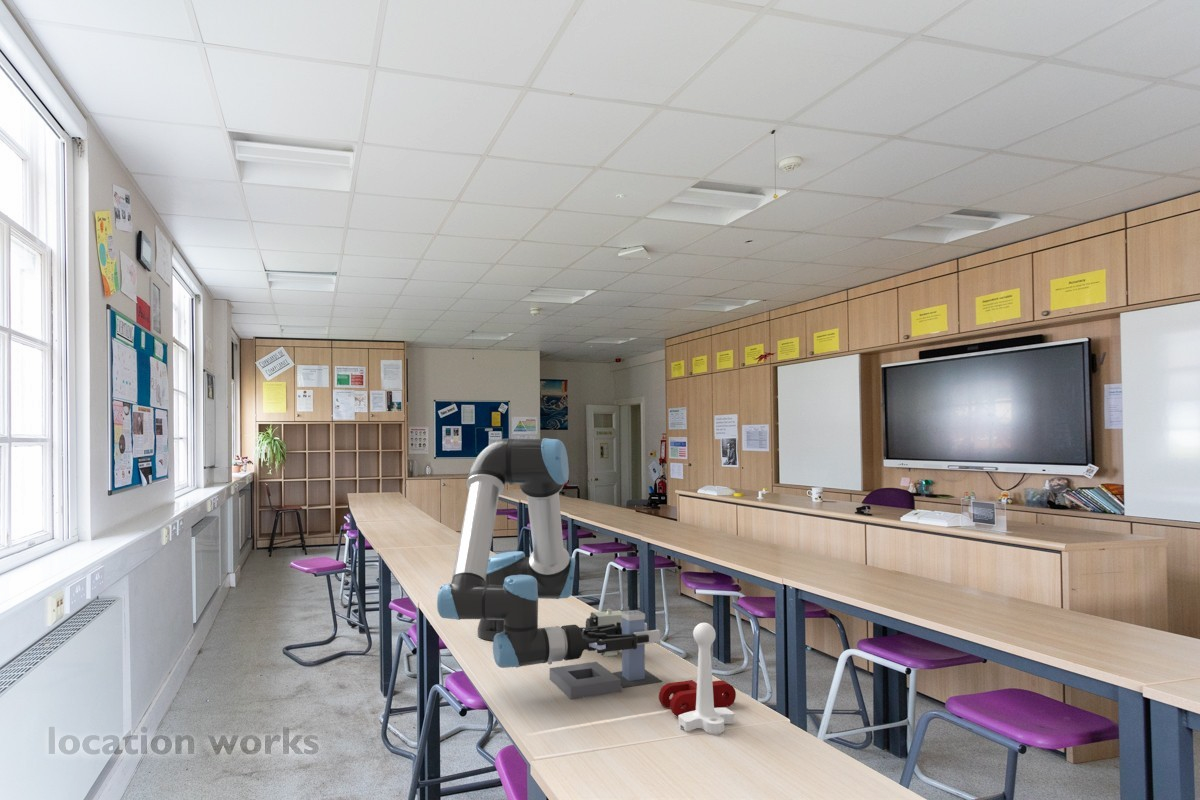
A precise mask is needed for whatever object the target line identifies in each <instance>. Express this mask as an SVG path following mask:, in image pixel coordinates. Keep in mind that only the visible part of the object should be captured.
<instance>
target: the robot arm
mask: <svg viewBox="0 0 1200 800" xmlns="http://www.w3.org/2000/svg"><path fill="white" fill-rule="evenodd" d="M568 458H569V457H568V452H567V449H566V446H565V444H564V442H563V441H561V440H560V439H556V438H547V437H543V438H502V439H498V440H495V441H493V442H492V443H490V444H489V445H487V446H486V447H484V449H482V450H481V451H480V453H479V454H477V456H476V458H475V459H474V460H473V462H472V464H471V466H470V468H469V471H468V473H467V477H466V482H465V483H466V484H465V486H466V489H467V490H468V492H467V493H468V495H467V499H466V504H465V509H464V515H463V520H462V525H461V531H460V534H459V535H460V536H459V541H458V545H457V552H456V557H455V561H454V566H453V567H454V568H453V572H452V579H451V583H447V584H446V583H444V584H442V585H441V586H440V587H439V590H438V593H437V599H436V600H437V601H436V606H437V607H436V608H437V612H438V615H439V616H440V617H441V618H442V619H445V620H447V619H448V620H456V621H457V620H458V621H460V620H479V622H478V626H477V637H478V638H480V639H483V640H485V641H493V642H492V654H493V659H494V662H495V664H496V665H497V667H498V668H501V669H502V668H503V669H504V668H506V669H507V668H520V667H526V666H532V665H533V666H534V665H538V664H539V665H540V664H546V663H547V664H548V665H552V663H553V662H554V663H555V662H556V663H557V662H561V661H571V660H578V659H580V658H581V657H582V655H583V652H584V651H589V652H595V651H596V653H597V654H600V653H604V652H608V651H617V650H620V651H622V650H627V649H636V648H637V645H640V644H645V645H647V644H648V645H649V644H655V643H660V642H661V630H660V629H652V630H648V623H647V622H645V631H642V632H634V634H622V627H621V623H620V622H617V626H615V624H608V625H601V626H593V627H586V626H585V627H579V625H577V624H568V625H567V624H566V625H561V626H558V625H555V626H547V627H542V628H541V627H539V626H538V625H539V624H538V623H539V619H538V618H539V599H545V600H546V599H547V600H551V599H552V600H560V599H569V598H570V597H571V596H572V594H573V587H574V586H573V585H574V579H575V570H576V569H575V566H576V558H575V557H572V556H570V553H569V551H568V550H567V549H566V548H565V547H564V539H563V538H564V537H563V528H562V515H561V514H562V513H561V504H560V492H561V491H562V489H563V488H564V485H565V484H567V483H568V481H569V475H570V468H569V467H570V466H569V459H568ZM507 484H511V485H512V484H514V485H515V484H516V485H518V484H519V488H520V492H521V493H523V495H525V496H526V501H527V507H528V509H527V510H528V518H529V527H530V534H531V535H530V536H531V542H532V543H531V544H532V552H531V553H530V555H529V556H526V554H525V552H524V551H522V550H521V551H518V550H516V551H515V550H514V551H506V552H502V553H500V552H499V553H497V554H491V547H492V542H493V541H492V540H493V536H494V529H495V522H496V517H497V510H498V503H499V496H500V495H502V493H503V492H504V489H505V485H507Z"/></svg>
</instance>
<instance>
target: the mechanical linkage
mask: <svg viewBox="0 0 1200 800" xmlns="http://www.w3.org/2000/svg"><path fill="white" fill-rule="evenodd" d="M712 683H713V700H714V708H728V707H731V706H732V705H733V704H734V702H735V701H736V698H737V693H736V692H737V691H736V689H735V688H734V686H733V685H732V684H730V683H728V682H727V681H725V680H721V679H720V680H715V681H713V680H712ZM671 695H672V696H671ZM696 695H697V681H694V680H693V679H689V680H682V681H681V680H680V681H675V682H668V683H665V684H664V685H663V686H661V688H660V689H659V691H658V700H659V702H660V704H661V705H662V706H663V707H664V708H666V709H669V710H670V712H671V713H672V715H674V716H676V717H677V718H678V715H680V714H683V713H686V712H690V711H694V710H696ZM670 696H671V697H670Z"/></svg>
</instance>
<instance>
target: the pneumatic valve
mask: <svg viewBox="0 0 1200 800" xmlns="http://www.w3.org/2000/svg"><path fill="white" fill-rule="evenodd" d="M623 611H624V610H622V609H619V610H618V609H617V610H612V609H611V608H607V610H606V611H596V612H595V611H593V612H590V616H589V617H587V618H586V620H585V627H593V626H601V625H608V624H615V626H617V622H620V623H621V627H622V617H621V612H623ZM620 651H621V650H617V651H608V652H604V653H599V655H602V657H613V656H618V655H619V654H618V653H620Z"/></svg>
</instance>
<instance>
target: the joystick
mask: <svg viewBox="0 0 1200 800" xmlns="http://www.w3.org/2000/svg"><path fill="white" fill-rule="evenodd" d="M692 633H693V634H692V635H693V636H692V637H693V639H694V641H695V642H696V644H697V646H698V652H697V653H698V654H697V657H698V658H697V675H696V676H697V678H696V679H697V680H696V683H697V695H696V710H694V711H690V712H686V713H683V714H680V715H678V717H677V719H678V720H677V721H678V726H677V727H678V729H680V730H683V731H686V732H691V731H693V730H695V729H702V730H704V731H705V732H706V733H707V734H709V733H710V735H714V734H717V735H721V734H722V733H723V732H725V724H734V723H735V713H734V711H732V710H730V709H729V708H728V707H722V708H714V700H713V683H712V681H713V672H712V671H713V669H712V668H713V667H712V652H711V646H712V644H713V643H714V642H715V640H716V635H717V634H716V630H715V628H714V627H713V625H711V624H710V623H708V622H700V623H698V624H697V625H696V626H694V628H693V632H692ZM720 733H721V734H720Z"/></svg>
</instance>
